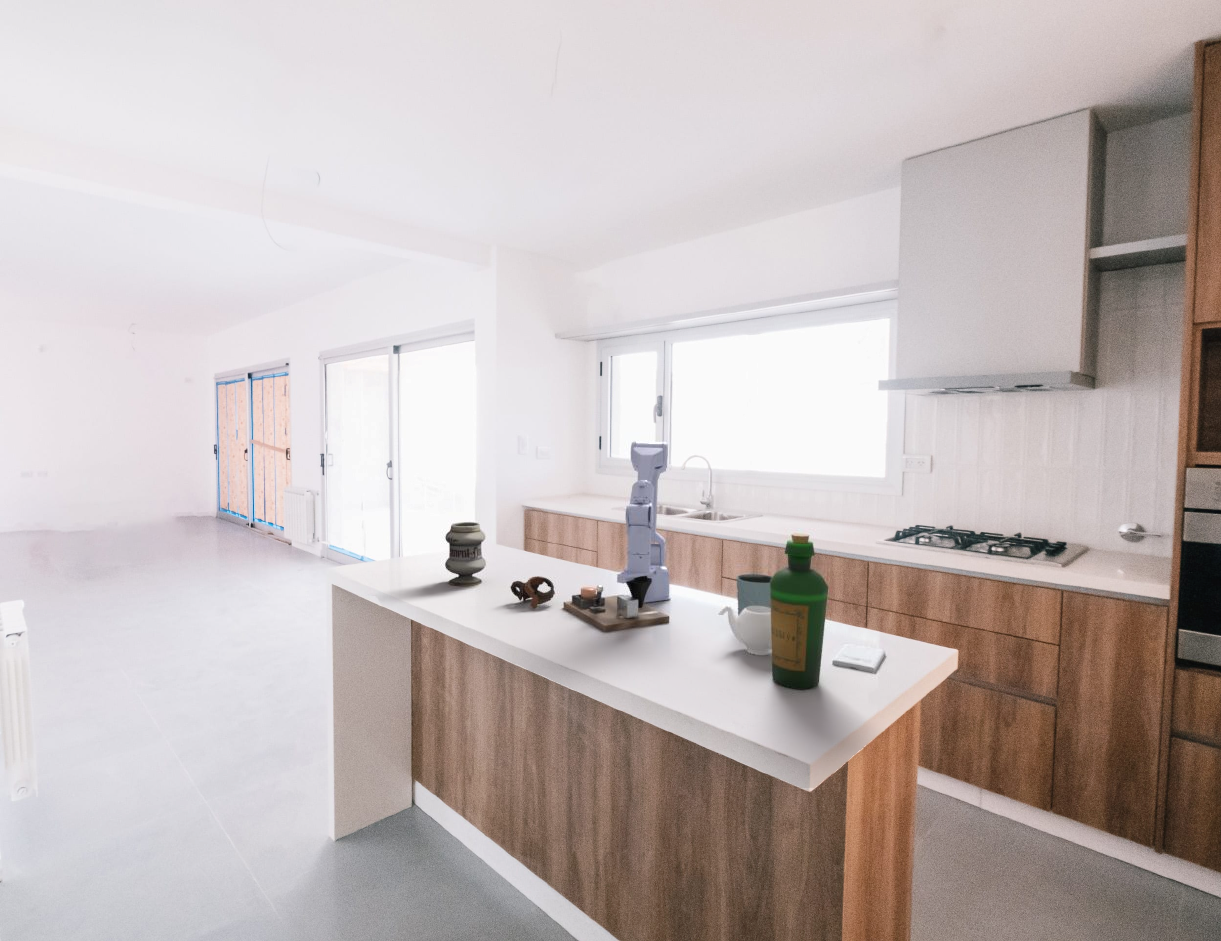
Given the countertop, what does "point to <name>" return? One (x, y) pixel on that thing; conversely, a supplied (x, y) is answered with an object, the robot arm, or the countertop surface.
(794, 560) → the bottle
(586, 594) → the push button
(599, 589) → the toggle lever
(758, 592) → the blue-gray cylindrical pot
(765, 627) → the teapot
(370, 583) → the countertop surface
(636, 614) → the gray rectangular block
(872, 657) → the external hard drive
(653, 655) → the countertop surface
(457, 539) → the apothecary jar
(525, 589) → the brown curved loop piece
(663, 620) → the control panel
